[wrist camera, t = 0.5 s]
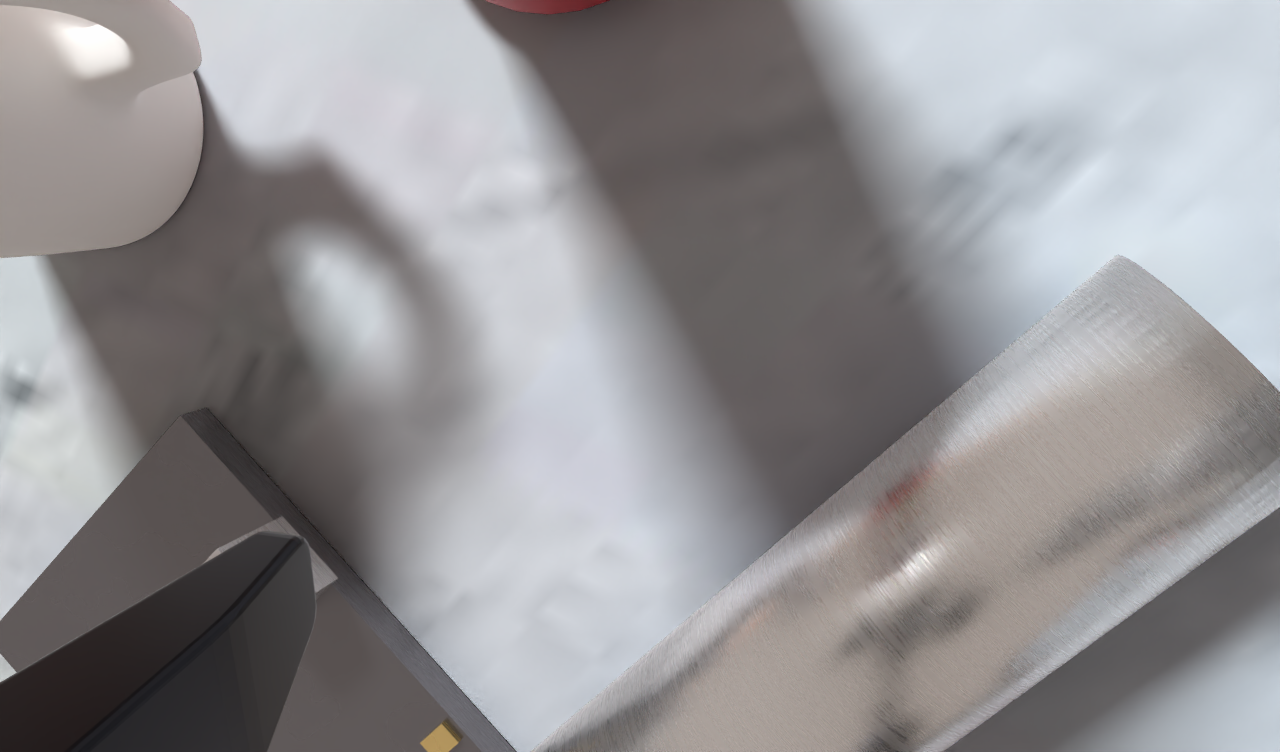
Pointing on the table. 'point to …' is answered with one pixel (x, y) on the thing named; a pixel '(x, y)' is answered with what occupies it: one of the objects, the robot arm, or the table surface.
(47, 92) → the mug
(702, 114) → the table surface
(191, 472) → the cradle
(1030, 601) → the tube
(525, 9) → the liquor
